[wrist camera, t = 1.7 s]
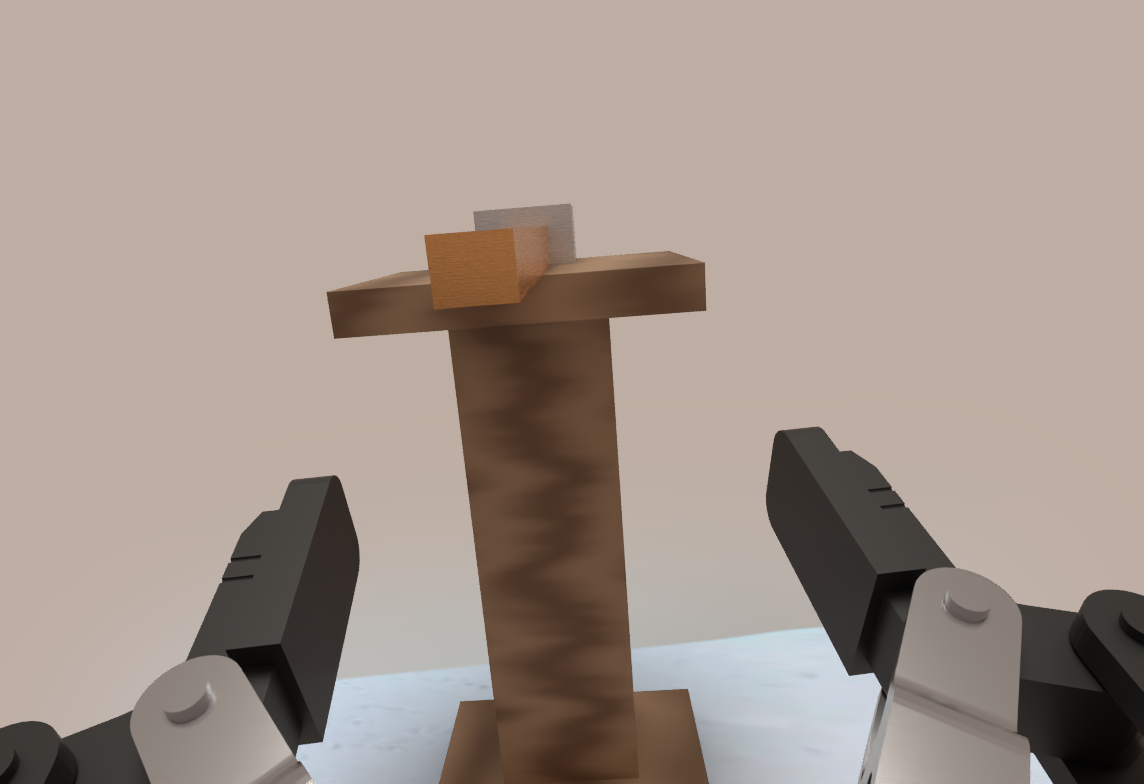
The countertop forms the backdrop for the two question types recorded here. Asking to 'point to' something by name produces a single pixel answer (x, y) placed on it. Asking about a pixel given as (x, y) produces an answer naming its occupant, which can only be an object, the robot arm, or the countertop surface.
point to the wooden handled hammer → (499, 255)
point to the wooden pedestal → (549, 520)
